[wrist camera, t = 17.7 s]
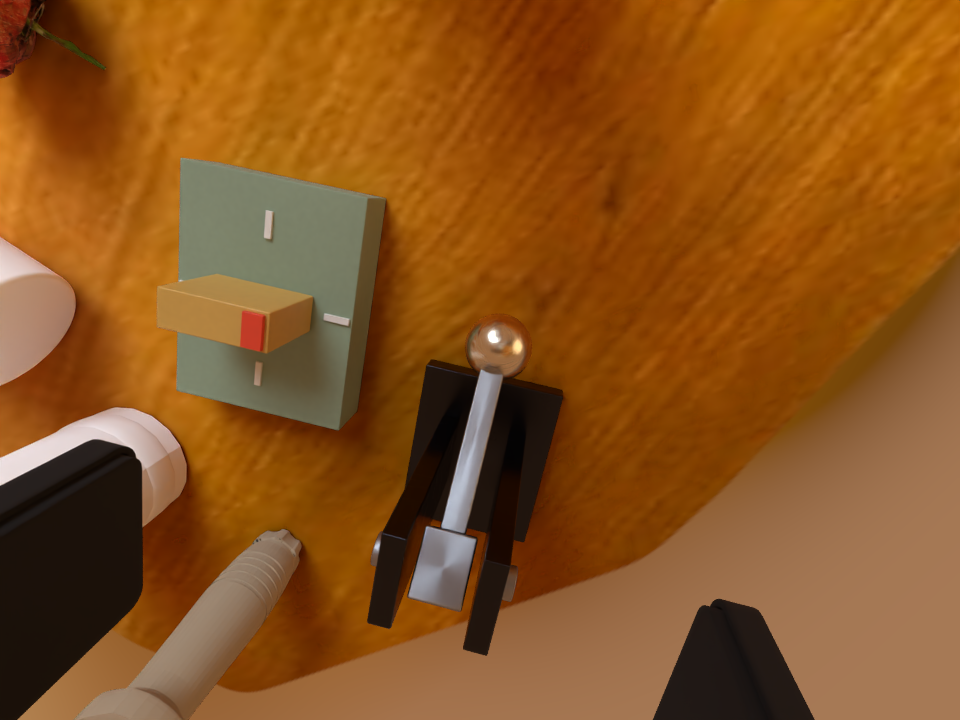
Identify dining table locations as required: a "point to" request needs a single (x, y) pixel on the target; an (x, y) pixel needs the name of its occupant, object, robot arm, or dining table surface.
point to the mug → (30, 311)
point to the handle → (206, 637)
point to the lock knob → (234, 312)
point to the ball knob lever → (469, 463)
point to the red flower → (25, 34)
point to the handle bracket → (498, 497)
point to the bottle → (123, 428)
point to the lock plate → (281, 286)
